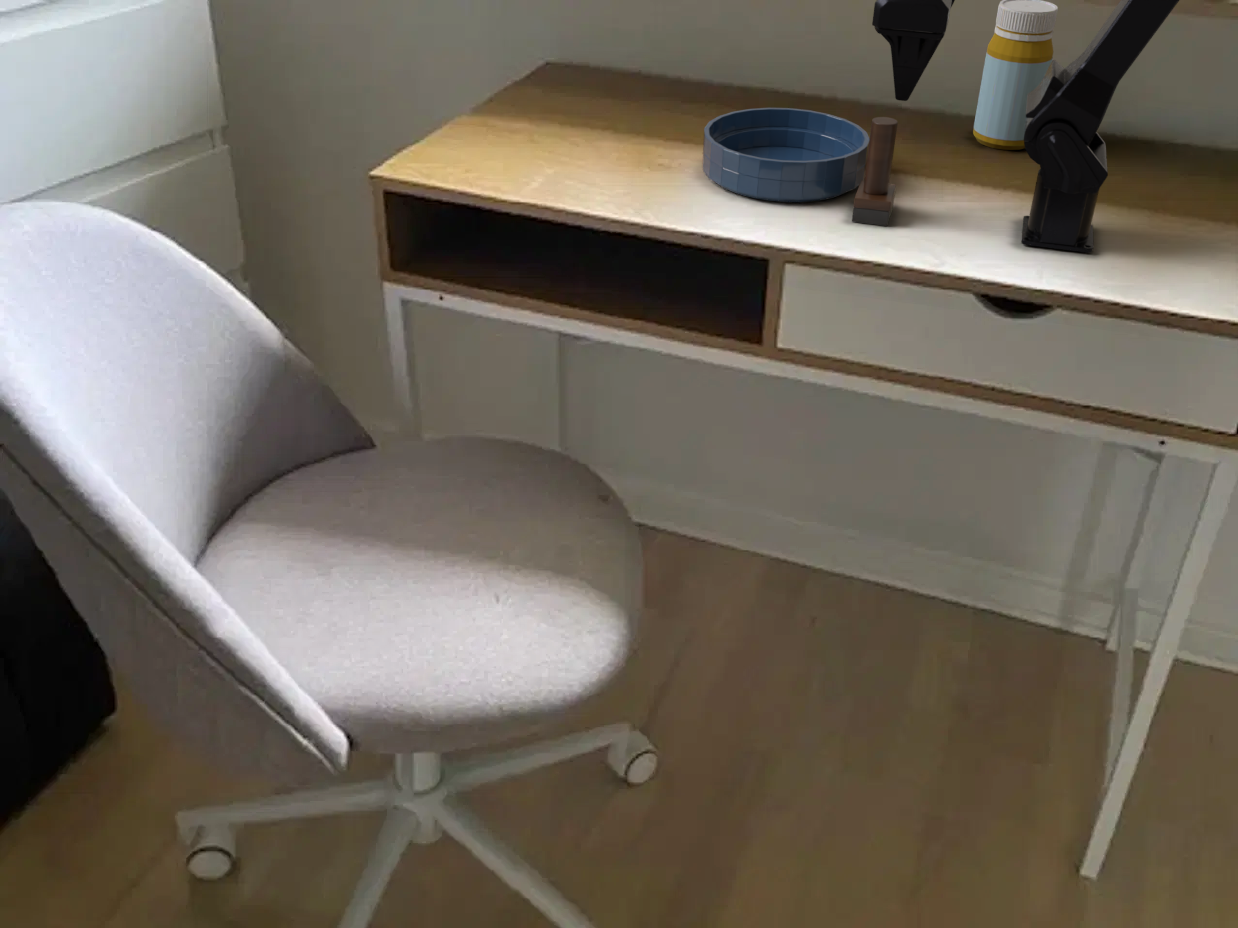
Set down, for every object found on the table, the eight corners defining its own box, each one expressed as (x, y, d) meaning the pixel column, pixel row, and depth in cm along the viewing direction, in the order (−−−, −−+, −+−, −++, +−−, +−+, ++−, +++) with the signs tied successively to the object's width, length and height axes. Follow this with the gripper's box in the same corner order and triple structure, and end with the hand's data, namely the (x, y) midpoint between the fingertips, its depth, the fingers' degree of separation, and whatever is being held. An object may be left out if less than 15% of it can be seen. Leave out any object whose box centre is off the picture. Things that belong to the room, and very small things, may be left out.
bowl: (852, 214, 128) (857, 170, 126) (685, 193, 132) (687, 151, 130) (873, 158, 142) (878, 117, 140) (721, 140, 146) (723, 101, 144)
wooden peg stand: (887, 226, 126) (900, 131, 121) (851, 222, 127) (863, 126, 122) (892, 208, 130) (906, 114, 125) (857, 203, 131) (869, 111, 126)
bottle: (1029, 132, 150) (1055, -2, 142) (1039, 153, 144) (1067, 15, 136) (968, 129, 151) (991, -4, 143) (976, 150, 145) (1000, 12, 137)
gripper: (853, -117, 122) (834, 51, 130) (823, -82, 107) (804, 106, 115) (974, -109, 119) (947, 62, 128) (961, -71, 104) (931, 120, 113)
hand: (906, 85), depth 121 cm, fingers open, 9 cm apart
